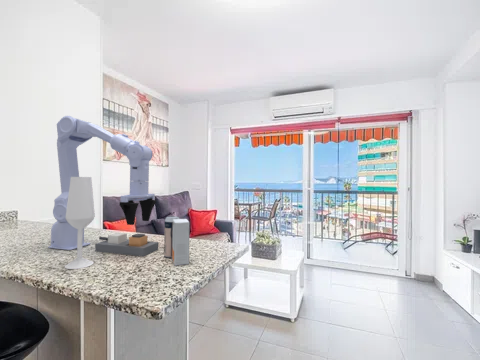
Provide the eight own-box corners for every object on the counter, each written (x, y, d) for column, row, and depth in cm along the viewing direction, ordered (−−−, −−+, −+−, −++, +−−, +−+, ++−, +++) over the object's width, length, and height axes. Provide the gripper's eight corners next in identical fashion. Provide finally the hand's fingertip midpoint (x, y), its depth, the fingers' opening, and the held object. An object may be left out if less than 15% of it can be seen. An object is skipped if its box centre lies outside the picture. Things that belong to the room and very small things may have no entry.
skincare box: (171, 259, 72) (172, 219, 72) (186, 257, 74) (186, 218, 74) (173, 266, 67) (174, 222, 67) (189, 264, 68) (190, 221, 68)
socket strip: (90, 250, 79) (90, 235, 79) (109, 244, 87) (109, 230, 87) (143, 256, 74) (143, 240, 74) (158, 249, 82) (158, 234, 82)
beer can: (175, 259, 73) (176, 218, 73) (160, 257, 74) (161, 218, 74) (182, 254, 77) (183, 216, 77) (168, 253, 78) (169, 216, 78)
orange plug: (128, 252, 78) (129, 235, 78) (136, 249, 82) (137, 232, 82) (139, 254, 77) (139, 236, 77) (147, 250, 81) (147, 233, 81)
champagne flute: (89, 259, 71) (91, 177, 71) (96, 264, 67) (98, 177, 67) (61, 264, 66) (63, 176, 67) (67, 270, 62) (69, 176, 62)
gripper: (135, 181, 72) (134, 227, 72) (162, 181, 86) (161, 220, 86) (115, 181, 74) (114, 225, 73) (145, 181, 88) (144, 218, 87)
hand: (138, 222), depth 80 cm, fingers open, 7 cm apart
